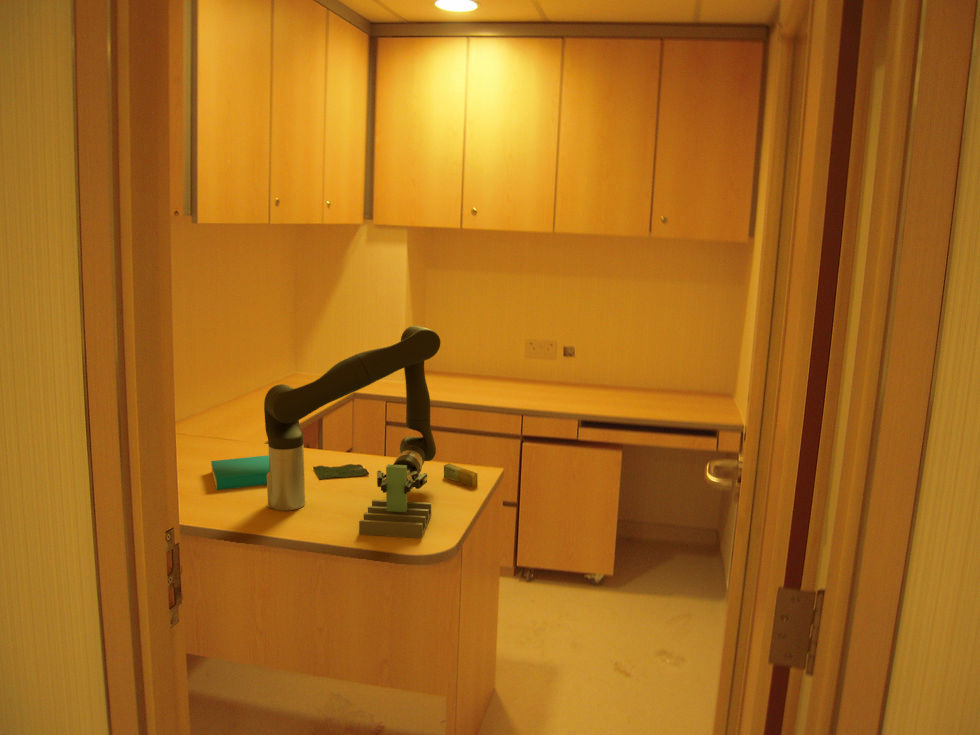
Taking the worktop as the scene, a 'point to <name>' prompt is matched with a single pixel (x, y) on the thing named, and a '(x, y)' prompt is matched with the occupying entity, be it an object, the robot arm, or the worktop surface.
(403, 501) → the card
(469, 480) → the medication box
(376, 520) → the rack
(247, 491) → the worktop surface
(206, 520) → the worktop surface
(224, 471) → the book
